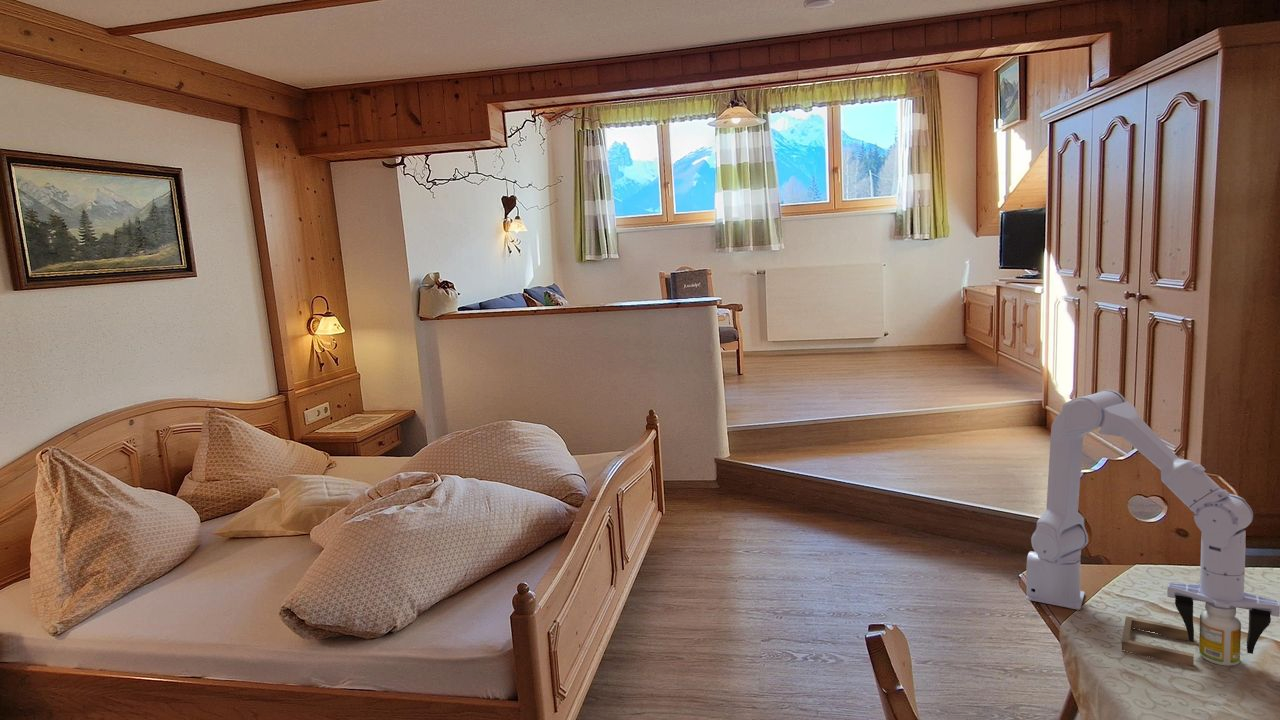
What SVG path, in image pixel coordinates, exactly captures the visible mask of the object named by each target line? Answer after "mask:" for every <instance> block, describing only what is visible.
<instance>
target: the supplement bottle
mask: <svg viewBox="0 0 1280 720" xmlns="http://www.w3.org/2000/svg"><path fill="white" fill-rule="evenodd" d="M1204 603H1205V604H1204V605H1205V606H1204V608H1205V610H1203V611H1202V612H1201V613H1200V615H1199V642H1198V643H1199V644H1198V649H1199V650H1198V651H1199V652H1198V653H1199V655H1200V656H1201V657H1202V658H1203V659H1204V660H1206V661H1208V662H1210V663H1213V664H1215V665H1220V666H1226V667H1230V666H1236V665H1238V664H1239V663H1240V661H1241V639H1242V637H1241V634H1242V622H1241V621H1240V619H1239V618H1238V617H1236V614H1237V608H1236V607H1231V606H1230V608H1224V607H1218V606H1215V605H1214V603H1208V602H1204Z"/></svg>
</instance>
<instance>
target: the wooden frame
mask: <svg viewBox="0 0 1280 720" xmlns="http://www.w3.org/2000/svg"><path fill="white" fill-rule="evenodd" d="M1132 628H1135V629H1140V630H1144V631H1150V632H1155V633H1158V634H1157V635H1159V634H1161V635H1160V636H1164V635H1165V637H1169V636H1170V637H1169V638H1174V639H1180V640H1185V641H1189V638H1188V632H1187V629H1186V627H1183V626H1177V625H1172V624H1168V623H1162V622H1157V621H1152V620H1146V619H1143V618H1142V619H1141V618H1138V617H1137V618H1136V617H1133V616H1132V617H1131V616H1126V615H1125V618H1124V625H1123V631H1122V637H1121V650H1125V651H1128V652H1127V653H1129V652H1132V653H1131V654H1134V653H1135V655H1138V654H1139V656H1143V657H1147V656H1148V658H1152V657H1153V659H1157V660H1163V661H1167V662H1171V663H1175V664H1180V665H1184V666H1187V667H1194V664H1195V663H1194V661H1195V660H1194V658H1195V655H1194V653H1192V652H1187V651H1183V650H1178V649H1177V650H1176V649H1173V648H1168V647H1164V646H1158V645H1154V644H1150V643H1145V642H1140V641H1134V640H1131V638H1130V637H1131V636H1132V631H1131V630H1133V629H1132ZM1144 631H1143V632H1144ZM1189 642H1190V641H1189ZM1125 651H1124V652H1125ZM1149 656H1150V657H1149Z"/></svg>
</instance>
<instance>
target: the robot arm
mask: <svg viewBox="0 0 1280 720" xmlns="http://www.w3.org/2000/svg"><path fill="white" fill-rule="evenodd" d="M1098 428H1100V429H1099V430H1098V434H1102V435H1106V436H1112V437H1121V438H1123V439H1124V440H1125V441H1126V442H1128V444H1130V445H1131V446H1132V447H1133V448H1134V449H1136V450H1137V451H1138V452H1139V453H1140V454H1141V455H1142V456H1144V457H1145V459H1147V460H1148V461H1150V462H1151V463H1152V464H1153V466H1155V467H1156V468H1157V469H1158V470H1160V480H1161V482H1162V484H1164V485H1165V486H1166V487H1167V488H1168V489H1169V490H1170V491H1171V492H1172V493H1173V494H1174V495H1175V496H1176V497H1177V498H1178V499H1179V501H1181V502H1182V503H1183V504H1184V505H1185V506H1187V508H1189V510H1190V511H1191V512H1193V514H1194V515H1193V521H1194V523H1195V525H1196V527H1197V528H1198V529H1199V531H1200V532H1201V538H1200V539H1201V540H1200V569H1199V571H1200V572H1199V574H1200V575H1199V584H1196V583H1195V584H1194V583H1175V582H1167V587H1166V588H1167V589H1166V590H1167V594H1166V595H1167V598H1170V599H1171V598H1172V599H1174V604H1175V607H1176V610H1177V611H1178V613H1179V615H1180V617H1181V619H1182V621H1183V623H1184V626H1185V628H1186V629H1187V632H1188V638H1189V642H1192V643H1194V642H1195V629H1194V628H1195V627H1194V625H1195V624H1194V601H1196V602H1197V601H1198V602H1204V603H1206V602H1208V603H1214V605H1215V606H1218V607H1224V608H1230V606H1231V607H1236V609H1237V608H1238V609H1243V610H1248V631H1247V637H1246V638H1247V639H1246V652H1247V654H1251V655H1253V654H1254V651H1255V646H1256V644H1257V642H1258V640H1259V639H1260V636H1261V635H1262V633H1264V631H1265V630H1266V629H1267V628H1268V627H1269V626H1270V625H1271V621H1272V620H1271V619H1272V618H1271V616H1273V617H1277V618H1279V617H1280V601H1279V600H1277V599H1271V598H1267V597H1262V596H1261V595H1260V596H1259V595H1255V594H1252V593H1248V592H1246V591H1245V577H1246V576H1245V573H1246V570H1245V569H1246V546H1247V545H1246V539H1247V538H1246V534H1247V533H1246V530H1245V529H1246V528H1247V527H1248V526H1250V524H1252V522H1253V519H1254V512H1253V510H1252V507H1251V506H1250V504H1248V503H1247V501H1246V499H1245V498H1244V497H1241V496H1239V495H1236V494H1233V493H1230V492H1229V491H1228V490H1227V489H1226V488H1225V489H1223V488H1221V487H1220V485H1219V484H1217V482H1215V481H1214V480H1213V479H1212V478H1211V477H1210V476H1209V475H1208V474H1207V473H1206V472H1205V471H1206V468H1205V467H1204V466H1203V465H1202V464H1200V463H1198V464H1196V463H1195V462H1194V461H1193V460H1189V459H1184V458H1183V459H1182V458H1179V457H1178V456H1177V455H1176V454H1175V452H1173V451H1172V449H1171V448H1170V447H1169V446H1168V445H1167V444H1166V443H1165V442H1164V441H1163V440H1162V438H1160V437H1159V436H1158V434H1157V433H1156V432H1155V431H1154V430H1153V429H1152V428H1151V427H1150V426H1149V425H1148V424H1147V423H1146V422H1145V420H1143V419H1142V418H1141V416H1140V415H1139V414H1138V412H1137V409H1136V407H1135V405H1133V403H1131V402H1129V401H1127V400H1126V398H1125V397H1124V396H1123V395H1122V394H1121V393H1120V392H1118V391H1116V390H1113V389H1103V390H1100V391H1098V392H1095V393H1092V394H1089V395H1085V396H1084V395H1083V396H1079V397H1075V398H1072V399H1071V400H1069V401H1067V402H1065V403H1063V404H1062V409H1061V410H1060V412H1059V414H1058V415H1057V416H1056V417H1055V419H1054V420H1053V421H1052V423H1051V427H1050V443H1049V444H1050V445H1049V461H1048V463H1049V464H1048V472H1047V473H1048V476H1047V477H1048V479H1047V493H1046V495H1047V496H1046V509H1044V511H1043V513H1042V514H1041V516H1040V517H1039V518H1038V520H1037V521H1036V528H1035V531H1033V533H1032V535H1031V537H1030V541H1031V542H1030V543H1031V546H1032V549H1033V550H1034V551H1032V550H1031V551H1029V552H1028V553H1027V556H1026V564H1025V565H1026V567H1025V568H1026V575H1025V576H1026V577H1025V578H1026V583H1025V584H1026V585H1025V586H1026V596H1025V599H1026V600H1027V601H1028V600H1029V601H1033V602H1038V603H1042V604H1048V605H1052V606H1059V607H1062V608H1066V609H1067V608H1068V609H1071V610H1072V609H1073V610H1077V611H1079V610H1081V608H1082V604H1083V601H1084V597H1085V594H1086V592H1085V591H1083V590H1081V555H1082V549H1083V548H1085V547H1086V546H1087V544H1088V542H1089V535H1088V532H1087V530H1086V527H1085V517H1084V516H1083V515H1082V514H1081V513H1080V512H1079V503H1080V502H1079V501H1080V488H1081V477H1082V476H1081V475H1082V474H1081V473H1082V459H1083V458H1082V457H1083V448H1084V447H1083V446H1084V445H1083V444H1084V437H1085V436H1086V435H1088V434H1089V433H1092V432H1093V431H1095V430H1096V429H1098Z"/></svg>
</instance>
